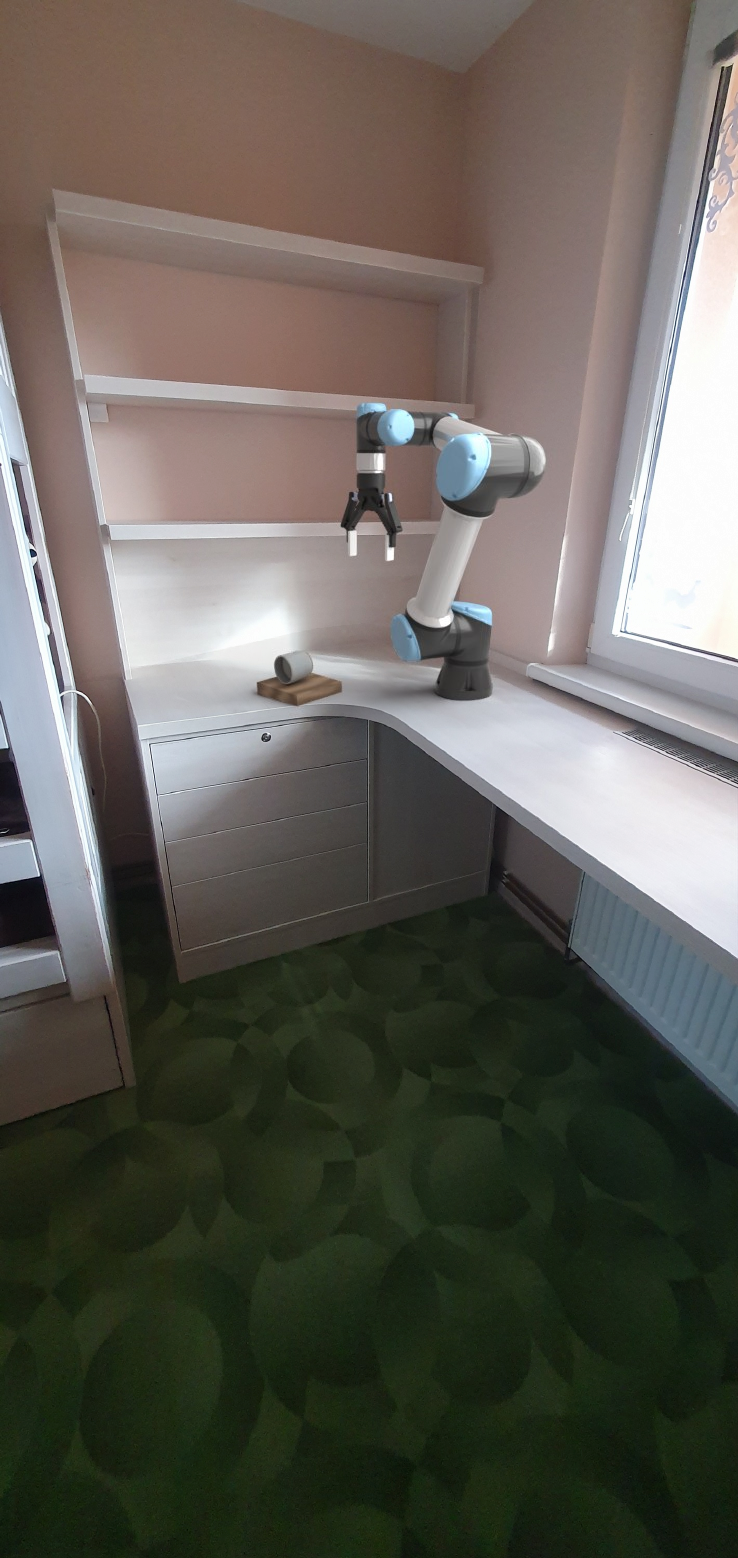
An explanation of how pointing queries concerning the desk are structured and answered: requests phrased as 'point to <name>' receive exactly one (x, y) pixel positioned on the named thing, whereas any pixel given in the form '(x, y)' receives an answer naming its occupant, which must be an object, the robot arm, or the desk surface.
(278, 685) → the walnut block
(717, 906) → the desk surface
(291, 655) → the ceramic mug
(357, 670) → the desk surface
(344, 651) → the desk surface
